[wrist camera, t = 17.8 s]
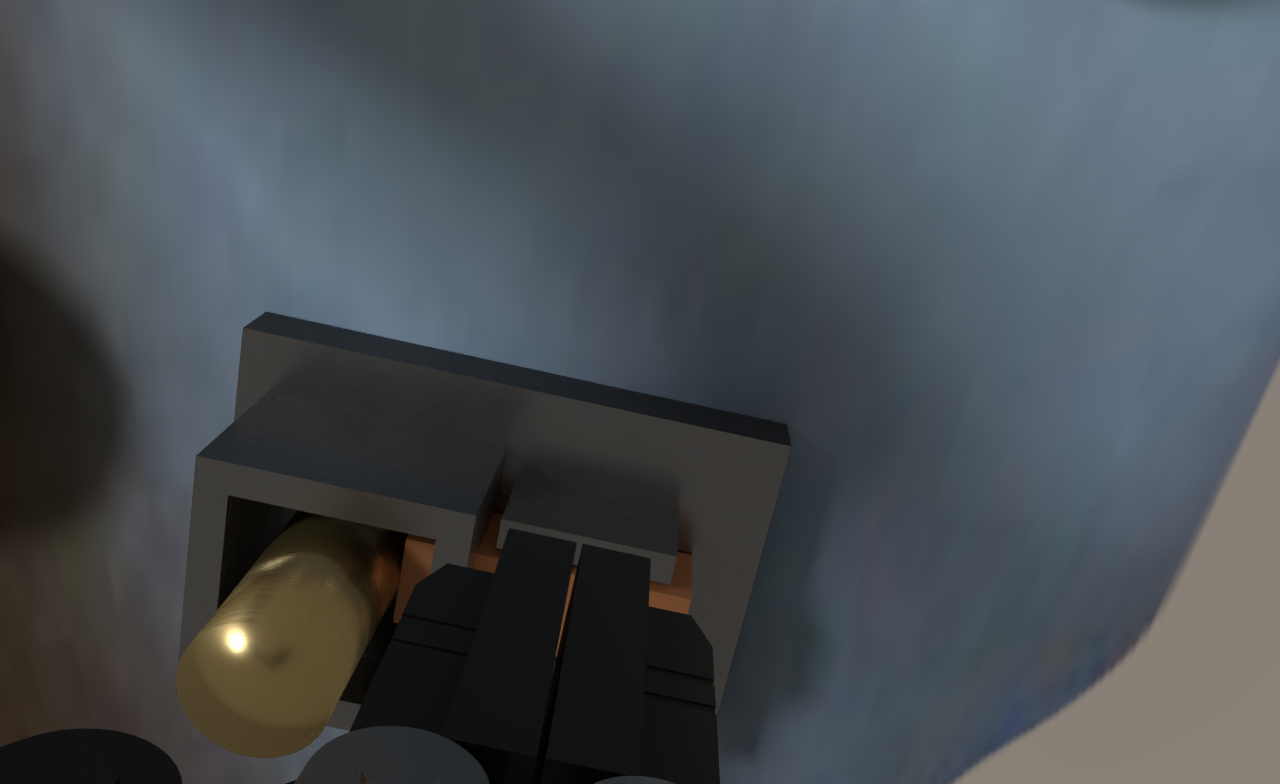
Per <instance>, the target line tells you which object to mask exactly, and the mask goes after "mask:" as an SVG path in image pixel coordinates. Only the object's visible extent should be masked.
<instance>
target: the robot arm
mask: <svg viewBox="0 0 1280 784" xmlns="http://www.w3.org/2000/svg"><path fill="white" fill-rule="evenodd" d="M576 545H577V542H572V541H568V540H563V539H558V538H554V537H549V536H545V535H540V534H535V533H531V532H526V531H521V530H517V529H512V528H509V530H508V532H507V535H506V538H505V542H504V545H503V548H502V551H501V554H500V557H499V560H498V563H497V566H496V569H495V573H491V572H486V571H482V570H477V569H472V568H468V567H463V566H458V565H454V564H449V563H447V564H446V565H444V566H443V567H441V568H440V569H438V570H437V571H435V572H433V573H432V574H430V575H429V576H427V577H426V578H424V579H423V580H421V581H420V582H418V583H417V584H416V585H415V587H414V589H413V592H412V594H411V596H410V598H409V600H408V603H407V605H406V607H405V609H404V612H403V614H402V618H401V619H400V620H399V623H398V625H397V627H396V629H395V631H394V634H393V636H392V638H391V643H390V645H388V647H387V649H386V651H385V654H384V656H383V658H382V660H381V662H380V665H379V667H378V669H377V671H376V674H375V676H374V678H373V680H372V682H371V685H370V687H369V689H368V691H367V694H366V696H365V698H364V700H363V702H362V705H361V707H360V709H359V711H358V713H357V716H356V718H355V720H354V722H353V725H352V727H351V729H350V731H349V732H348V733H346V734H343V735H341V736H338V737H336V738H334V739H333V740H331V741H329V742H328V743H326V744H324V745H323V746H322V747H321V748H320V749H318V750H317V751H316V752H315V753H314V754H313V756H312V757H311V758H310V759H309V761H308V762H307V763H306V765H305V767H304V768H303V770H302V771H301V773H300V775H299V776H298V778H297V780H295V781H292V782H289V783H286V784H720V776H719V757H718V738H717V719H716V713H715V708H716V700H715V686H713V684H714V662H713V647H712V645H711V644H710V642H709V641H708V639H707V638H706V636H705V635H704V633H703V632H702V630H701V629H700V627H699V626H698V624H697V623H696V621H695V620H694V618H693V617H692V615H688V614H683V613H678V612H674V611H669V610H664V609H660V608H655V607H650V606H649V590H650V570H651V559H650V558H647V557H643V556H638V555H633V554H629V553H624V552H620V551H615V550H610V549H606V548H601V547H596V546H592V545H587V544H583V545H582V549H581V553H580V557H579V561H578V565H577V569H576V574H575V578H574V582H573V587H572V591H571V596H570V600H569V604H568V609H567V613H566V617H565V622H564V626H563V630H562V635H561V639H560V643H559V648H558V652H557V646H558V641H559V636H560V630H561V625H562V620H563V614H564V609H565V604H566V598H567V593H568V588H569V583H570V577H571V572H572V567H573V561H574V556H575V551H576ZM556 652H557V656H556ZM555 657H556V661H555ZM554 662H555V665H554ZM553 668H554V669H553ZM552 673H553V674H552ZM0 784H182V779H181V775H180V773H179V770H178V768H177V766H176V764H175V763H174V762H173V760H172V759H171V758H170V756H168V755H167V754H166V753H165V752H164V751H163V750H161V749H160V748H159V747H157V746H156V745H154V744H152V743H150V742H149V741H147V740H144V739H142V738H139V737H137V736H134V735H131V734H127V733H123V732H119V731H113V730H105V729H82V728H80V729H68V730H59V731H54V732H48V733H43V734H39V735H36V736H33V737H29V738H26V739H23V740H20V741H17V742H14V743H11V744H8V745H5V746H2V747H0Z"/></svg>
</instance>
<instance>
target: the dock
mask: <svg viewBox="0 0 1280 784" xmlns="http://www.w3.org/2000/svg"><path fill="white" fill-rule="evenodd" d="M790 450H791V442H790V437H789V432H788V427H787V425H786V424H781V423H777V422H772V421H768V420H763V419H758V418H754V417H749V416H745V415H740V414H735V413H731V412H726V411H722V410H717V409H712V408H708V407H703V406H698V405H694V404H689V403H685V402H680V401H675V400H671V399H666V398H662V397H657V396H652V395H648V394H643V393H638V392H634V391H629V390H625V389H620V388H615V387H611V386H606V385H602V384H597V383H592V382H588V381H583V380H579V379H574V378H569V377H565V376H560V375H555V374H551V373H546V372H542V371H537V370H532V369H528V368H523V367H519V366H514V365H509V364H505V363H500V362H495V361H491V360H486V359H482V358H477V357H472V356H468V355H463V354H459V353H454V352H449V351H445V350H440V349H436V348H431V347H426V346H422V345H417V344H412V343H408V342H403V341H399V340H394V339H389V338H385V337H380V336H376V335H371V334H366V333H362V332H357V331H352V330H348V329H343V328H339V327H334V326H329V325H325V324H320V323H316V322H311V321H306V320H302V319H297V318H293V317H288V316H283V315H279V314H274V313H269V312H265V313H263V314H262V315H261V316H259V317H258V318H256V319H255V320H253V321H252V322H251V323H249V324H248V325H246V326H245V327H244V328H243V334H242V344H241V355H240V365H239V375H238V386H237V396H236V407H235V417H234V422H233V423H232V424H231V425H230V426H229V427H228V428H227V429H226V430H224V431H223V432H222V433H221V434H220V435H219V436H218V437H217V438H215V439H214V440H213V441H212V442H211V443H210V444H209V445H208V446H206V447H205V448H204V449H203V450H202V451H201V452H200V453H199V454H197V455H196V462H195V474H194V486H193V497H192V509H191V521H190V533H189V544H188V556H187V568H186V580H185V591H184V603H183V615H182V627H181V639H180V650H179V662H180V659H181V657H182V655H183V653H184V652H185V650H186V649H187V647H188V646H189V645H190V643H191V642H192V641H193V640H194V638H195V637H196V636H197V635H198V633H199V632H200V631H201V630H202V628H203V627H204V626H205V625H206V623H207V622H208V621H209V620H210V618H211V617H212V616H213V615H214V614H215V612H216V611H217V610H218V609H219V607H220V606H221V605H222V604H223V602H224V601H225V600H226V599H227V597H228V596H229V595H230V594H231V592H232V591H233V590H234V589H235V587H236V586H237V585H238V584H239V582H240V581H241V580H242V579H243V577H244V576H245V575H246V574H247V572H248V571H249V570H250V569H251V567H252V566H253V565H254V564H255V563H256V561H257V560H258V559H259V558H260V556H261V555H262V554H263V553H264V551H265V550H266V549H267V548H268V546H269V545H270V544H271V543H272V541H273V540H274V539H275V538H276V536H277V535H278V534H279V533H280V531H281V530H282V529H283V528H284V526H285V525H286V524H287V523H288V521H289V520H290V519H291V518H292V516H293V515H294V514H295V513H296V511H297V510H300V511H305V512H309V513H314V514H319V515H323V516H328V517H333V518H337V519H342V520H347V521H352V522H356V523H361V524H366V525H370V526H375V527H380V528H384V529H389V530H394V531H398V532H403V533H408V534H412V535H417V536H422V537H426V538H431V539H436V542H435V548H434V554H433V560H432V566H431V572H430V574H432V573H433V572H435V571H437V570H438V569H440V568H441V567H443V566H444V565H446V564H447V563H449V564H454V565H458V566H463V567H468V568H472V569H474V566H475V560H476V555H477V551H478V548H479V546H480V543H481V541H482V539H483V536H484V534H485V531H486V529H487V527H488V524H489V522H490V519H491V517H492V514H493V513H498V514H502V515H503V516H502V519H501V524H500V529H499V534H498V540H497V545H496V548H500V549H502V548H503V545H504V542H505V538H506V535H507V532H508V530H509V528H512V529H517V530H521V531H526V532H531V533H535V534H540V535H545V536H549V537H554V538H558V539H563V540H568V541H572V542H577V545H576V551H575V556H574V561H573V564H575V565H578V561H579V557H580V553H581V549H582V545H583V544H587V545H592V546H596V547H601V548H606V549H610V550H615V551H620V552H624V553H629V554H633V555H638V556H643V557H647V558H650V559H651V570H650V581H654V582H659V583H664V584H668V585H670V583H671V579H672V575H673V571H674V567H675V563H676V559H677V552H680V553H684V554H689V555H692V589H691V603H690V607H689V611H688V615H692V617H693V618H694V620H695V621H696V623H697V624H698V626H699V627H700V629H701V630H702V632H703V633H704V635H705V636H706V638H707V639H708V641H709V642H710V644H711V645H712V647H713V662H714V684H713V686H715V700H716V708H715V713H716V718H717V715H718V711H719V708H720V704H721V700H722V697H723V693H724V689H725V686H726V682H727V679H728V675H729V671H730V668H731V664H732V660H733V657H734V653H735V649H736V646H737V642H738V639H739V635H740V631H741V628H742V624H743V620H744V617H745V613H746V610H747V606H748V602H749V599H750V595H751V591H752V588H753V584H754V581H755V577H756V573H757V570H758V566H759V562H760V559H761V555H762V552H763V548H764V544H765V541H766V537H767V533H768V530H769V526H770V522H771V519H772V515H773V512H774V508H775V504H776V501H777V497H778V493H779V490H780V486H781V483H782V479H783V475H784V472H785V468H786V464H787V461H788V457H789V454H790ZM398 588H399V586H398ZM398 588H397V590H396V592H395V594H394V596H393V598H392V600H391V602H390V604H389V606H388V607H387V609H386V611H385V613H384V615H383V617H382V619H381V621H380V623H379V625H378V626H377V628H376V630H375V632H374V634H373V636H372V638H371V640H370V642H369V644H368V646H367V647H366V649H365V651H364V653H363V655H362V657H361V659H360V661H359V663H358V665H357V666H356V668H355V670H354V672H353V674H352V676H351V678H350V680H349V682H348V684H347V686H346V687H345V689H344V691H343V693H342V695H341V697H340V699H339V701H338V703H337V705H336V706H335V708H334V710H333V712H332V714H331V716H330V718H329V720H328V722H327V724H326V725H325V726H330V727H334V728H339V729H344V730H349V731H350V729H351V727H352V725H353V722H354V720H355V718H356V716H357V713H358V711H359V709H360V707H361V705H362V702H363V700H364V698H365V696H366V694H367V691H368V689H369V687H370V685H371V682H372V680H373V678H374V676H375V674H376V671H377V669H378V667H379V665H380V662H381V660H382V658H383V656H384V654H385V651H386V649H387V647H388V645H390V643H391V638H392V636H393V634H394V631H395V629H396V627H397V625H398V623H395V622H393V620H394V613H395V607H396V600H397V594H398ZM555 661H556V657H555ZM179 662H178V665H179ZM554 665H555V662H554ZM553 669H554V668H553ZM552 674H553V673H552ZM176 694H178V692H177V686H176Z"/></svg>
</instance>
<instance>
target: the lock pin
mask: <svg viewBox="0 0 1280 784" xmlns="http://www.w3.org/2000/svg"><path fill="white" fill-rule="evenodd" d="M502 516H503V515H502V514H498V513H493V514H492V517H491V519H490V522H489V524H488V527H487V529H486V531H485V534H484V536H483V539H482V541H481V543H480V546H479V548H478V551H477V555H476V560H475V566H474V569H477V570H482V571H486V572H491V573H495V569H496V566H497V563H498V560H499V557H500V554H501V551H502V549H500V548H496V545H497V540H498V534H499V529H500V524H501V519H502ZM435 542H436V539H431V538H426V537H422V536H417V535H412V534H409V535H408V536H407V538H406V543H405V549H404V556H403V562H402V568H401V575H400V581H399V588H398V594H397V600H396V607H395V613H394V620H393V622H395V623H399V620H400V619H401V618H402V614H403V612H404V609H405V607H406V605H407V603H408V600H409V598H410V596H411V594H412V592H413V589H414V587H415V585H416V584H417V583H418V582H420V581H421V580H423V579H424V578H426V577H427V576H429V575H430V572H431V566H432V560H433V554H434V548H435ZM576 569H577V565H575V564H573V567H572V572H571V577H570V583H569V588H568V593H567V598H566V604H565V609H564V614H563V620H562V625H561V630H560V636H559V641H558V646H557V652H558V648H559V643H560V639H561V635H562V630H563V626H564V622H565V617H566V613H567V609H568V604H569V600H570V596H571V591H572V587H573V582H574V578H575V574H576ZM691 589H692V555H689V554H684V553H680V552H677V559H676V563H675V567H674V571H673V575H672V579H671V583H670V585H668V584H664V583H659V582H654V581H650V590H649V606H650V607H655V608H660V609H664V610H669V611H674V612H678V613H683V614H688V611H689V607H690V603H691ZM557 652H556V656H557Z"/></svg>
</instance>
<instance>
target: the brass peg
mask: <svg viewBox="0 0 1280 784" xmlns="http://www.w3.org/2000/svg"><path fill="white" fill-rule="evenodd" d="M408 535H409V534H408V533H403V532H398V531H394V530H389V529H384V528H380V527H375V526H370V525H366V524H361V523H356V522H352V521H347V520H342V519H337V518H333V517H328V516H323V515H319V514H314V513H309V512H305V511H300V510H297V511H296V513H295V514H294V515H293V516H292V518H291V519H290V520H289V521H288V523H287V524H286V525H285V526H284V528H283V529H282V530H281V531H280V533H279V534H278V535H277V536H276V538H275V539H274V540H273V541H272V543H271V544H270V545H269V546H268V548H267V549H266V550H265V551H264V553H263V554H262V555H261V556H260V558H259V559H258V560H257V561H256V563H255V564H254V565H253V566H252V567H251V569H250V570H249V571H248V572H247V574H246V575H245V576H244V577H243V579H242V580H241V581H240V582H239V584H238V585H237V586H236V587H235V589H234V590H233V591H232V592H231V594H230V595H229V596H228V597H227V599H226V600H225V601H224V602H223V604H222V605H221V606H220V607H219V609H218V610H217V611H216V612H215V614H214V615H213V616H212V617H211V618H210V620H209V621H208V622H207V623H206V625H205V626H204V627H203V628H202V630H201V631H200V632H199V633H198V635H197V636H196V637H195V638H194V640H193V641H192V642H191V643H190V645H189V646H188V647H187V649H186V650H185V652H184V653H183V655H182V657H181V659H180V662H179V665H178V668H177V676H176V686H177V692H178V696H179V700H180V703H181V705H182V707H183V709H184V712H185V713H186V715H187V716H188V718H189V720H190V721H191V722H192V723H193V725H194V726H195V727H196V728H197V729H198V730H199V731H200V732H201V733H202V734H203V735H204V736H206V737H207V738H208V739H209V740H211V741H212V742H214V743H215V744H217V745H219V746H220V747H223V748H225V749H227V750H229V751H231V752H234V753H237V754H240V755H244V756H248V757H256V758H275V757H281V756H286V755H289V754H292V753H295V752H297V751H299V750H301V749H303V748H305V747H306V746H308V745H309V744H311V743H312V742H313V741H314V740H315V739H316V738H317V737H318V736H319V735H320V733H321V732H322V731H323V729H324V727H325V725H326V724H327V722H328V720H329V718H330V716H331V714H332V712H333V710H334V708H335V706H336V705H337V703H338V701H339V699H340V697H341V695H342V693H343V691H344V689H345V687H346V686H347V684H348V682H349V680H350V678H351V676H352V674H353V672H354V670H355V668H356V666H357V665H358V663H359V661H360V659H361V657H362V655H363V653H364V651H365V649H366V647H367V646H368V644H369V642H370V640H371V638H372V636H373V634H374V632H375V630H376V628H377V626H378V625H379V623H380V621H381V619H382V617H383V615H384V613H385V611H386V609H387V607H388V606H389V604H390V602H391V600H392V598H393V596H394V594H395V592H396V590H397V588H398V586H399V581H400V575H401V568H402V562H403V556H404V549H405V543H406V538H407V536H408Z"/></svg>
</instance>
